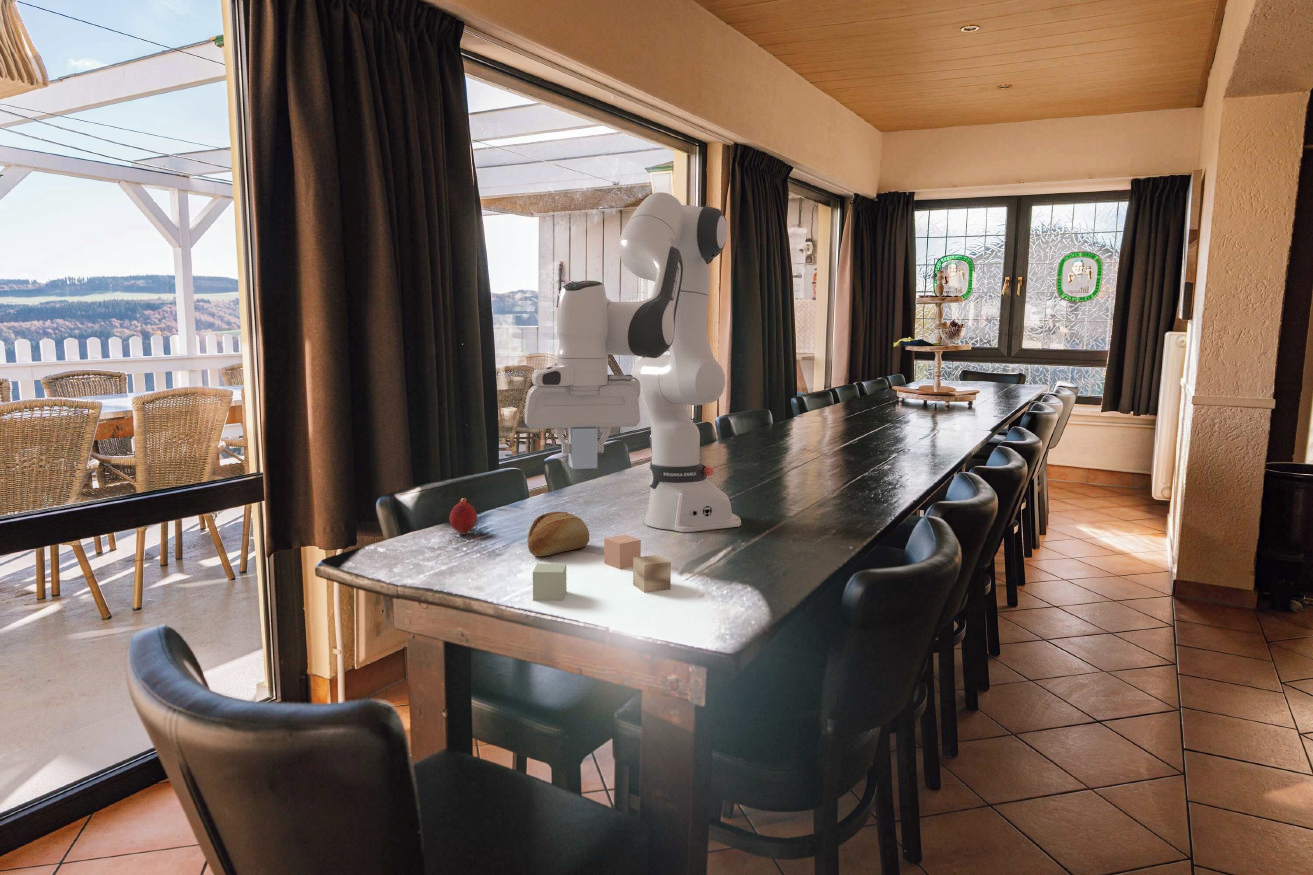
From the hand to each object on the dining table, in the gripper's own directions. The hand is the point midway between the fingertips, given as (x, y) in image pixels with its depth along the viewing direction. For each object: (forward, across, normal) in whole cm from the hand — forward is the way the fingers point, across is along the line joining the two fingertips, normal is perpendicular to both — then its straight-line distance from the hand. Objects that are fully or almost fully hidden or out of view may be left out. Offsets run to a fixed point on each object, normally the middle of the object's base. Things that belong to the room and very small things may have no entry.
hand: (582, 452), depth 147 cm
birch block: (+23, -11, +7) cm, 27 cm away
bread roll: (+23, +2, -20) cm, 31 cm away
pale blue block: (+2, 0, 0) cm, 2 cm away
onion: (+23, +20, -38) cm, 49 cm away
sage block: (+23, +7, +8) cm, 26 cm away
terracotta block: (+23, -9, -8) cm, 26 cm away
